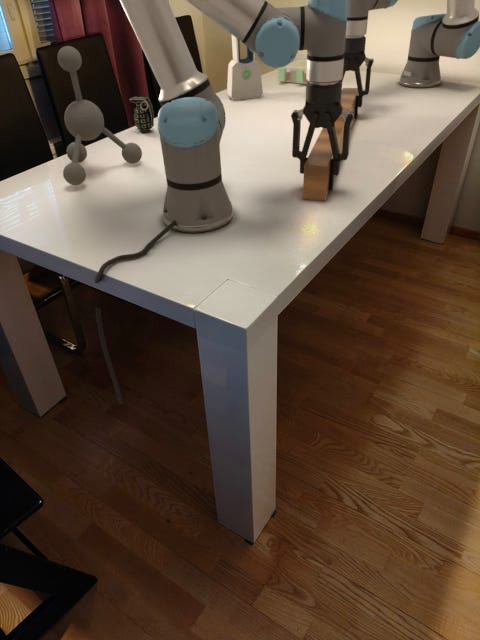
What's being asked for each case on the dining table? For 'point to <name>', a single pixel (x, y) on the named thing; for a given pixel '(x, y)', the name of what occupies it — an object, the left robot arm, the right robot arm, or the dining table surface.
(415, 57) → the right robot arm
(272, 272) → the dining table surface
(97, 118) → the molecular model
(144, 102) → the grenade
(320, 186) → the post
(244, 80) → the electronic device
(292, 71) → the decorative block
